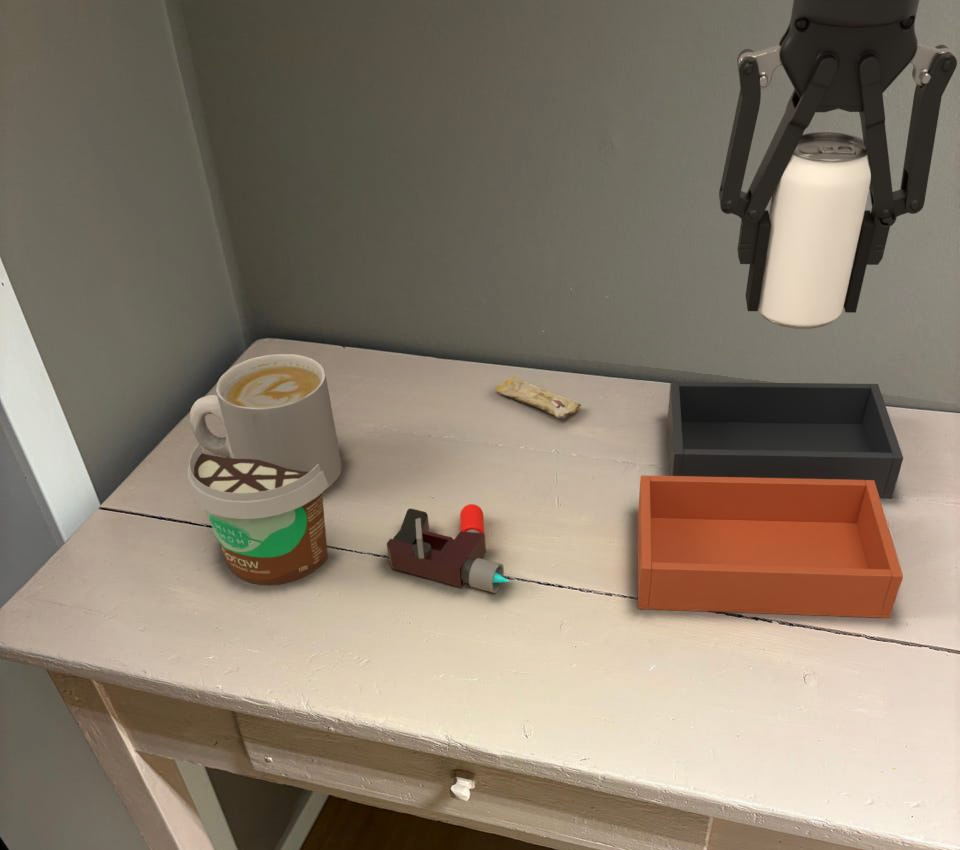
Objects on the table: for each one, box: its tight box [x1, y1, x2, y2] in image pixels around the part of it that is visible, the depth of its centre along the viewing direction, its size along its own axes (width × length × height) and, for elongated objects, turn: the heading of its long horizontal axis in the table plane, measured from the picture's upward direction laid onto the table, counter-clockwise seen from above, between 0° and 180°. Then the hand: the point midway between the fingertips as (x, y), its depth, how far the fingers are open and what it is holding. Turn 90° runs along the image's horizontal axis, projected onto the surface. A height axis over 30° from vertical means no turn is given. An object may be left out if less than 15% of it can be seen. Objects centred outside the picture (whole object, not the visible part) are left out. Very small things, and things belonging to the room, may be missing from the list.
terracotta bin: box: [637, 474, 904, 619], centre depth 82 cm, size 20×13×4 cm, turn 84°
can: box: [758, 131, 871, 330], centre depth 72 cm, size 6×6×12 cm
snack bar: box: [495, 376, 582, 419], centre depth 103 cm, size 10×2×3 cm
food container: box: [187, 442, 329, 586], centre depth 83 cm, size 12×6×10 cm, turn 70°
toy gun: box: [386, 503, 511, 594], centre depth 85 cm, size 10×12×5 cm
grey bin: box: [666, 381, 904, 499], centre depth 93 cm, size 20×13×4 cm, turn 84°
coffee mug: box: [189, 353, 343, 491], centre depth 94 cm, size 13×10×10 cm
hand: (799, 303), depth 76 cm, fingers closed on can, 6 cm apart
